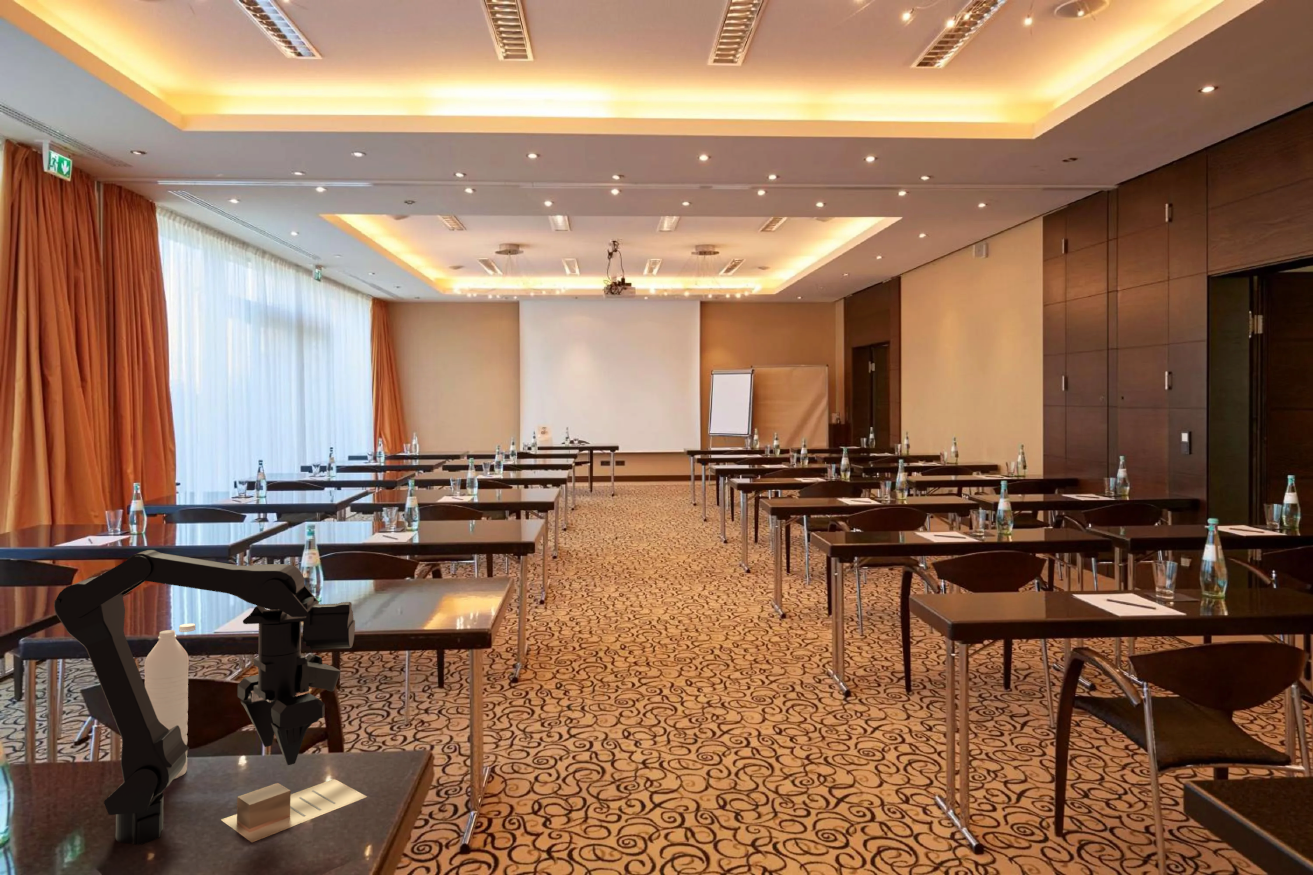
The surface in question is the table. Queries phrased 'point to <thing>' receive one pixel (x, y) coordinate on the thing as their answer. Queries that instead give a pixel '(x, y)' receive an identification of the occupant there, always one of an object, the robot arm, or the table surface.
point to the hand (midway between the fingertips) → (279, 754)
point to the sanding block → (263, 807)
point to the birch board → (304, 808)
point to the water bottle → (169, 682)
